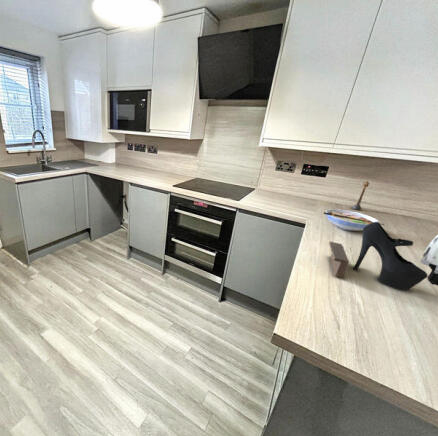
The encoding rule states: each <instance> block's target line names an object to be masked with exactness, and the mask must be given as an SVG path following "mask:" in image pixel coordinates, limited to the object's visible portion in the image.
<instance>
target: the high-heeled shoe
mask: <svg viewBox="0 0 438 436" xmlns="http://www.w3.org/2000/svg"><path fill="white" fill-rule="evenodd" d="M379 223H380V222H373V223H371V224H368V225H367V226H365V227H364V228H363V230H361V232H362V233H361V236H362V239H361V247H360V251H359V255H358V258H357V260H356V262H355V264H354V266H353V267H352V269H353V270H354V271H358V270H359V268H360V267H361V264H362V263H363V260H364V259H365V257H366V255H367V254H368V252H369V250H370V247H373V248H374V249H375V251H377V253H378V255H379V257H380V260H381V268H380V273H379V275H378V277H377V281H378V282H379V283H381V284H382V285H385V286H387V287H389V288H393V289H396V290H402V291H409V290H411V289H412V288H414V287H415V286H416V285H418V284H420V283H422V281H424V280H425V279H428V273H427V272H426V271H425V270H423V269H422V268H420V267H419V266H417V265H416V264H415V263H413V262H412V261H409V260H407V259H406V258H404V256H402V255H401V254H400V252H399V251H398V250H397V248H396V247H412V246H413V245H414V241H412V240H410V239H409V240H408V239H403V238H394V237H391V236H390V235H389V234H388V232H387V231H386V230H385V228H384V227H383V225H382V224H381V223H380V224H379Z"/></svg>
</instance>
